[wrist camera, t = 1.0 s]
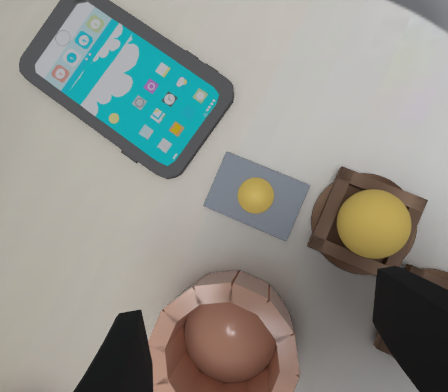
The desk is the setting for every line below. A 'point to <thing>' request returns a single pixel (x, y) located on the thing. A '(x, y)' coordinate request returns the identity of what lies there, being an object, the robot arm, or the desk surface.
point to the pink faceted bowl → (225, 338)
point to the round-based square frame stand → (328, 211)
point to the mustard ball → (374, 224)
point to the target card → (256, 196)
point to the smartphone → (127, 83)
